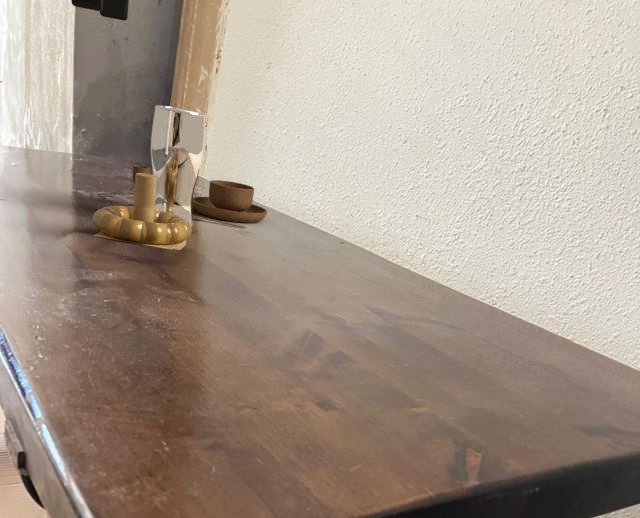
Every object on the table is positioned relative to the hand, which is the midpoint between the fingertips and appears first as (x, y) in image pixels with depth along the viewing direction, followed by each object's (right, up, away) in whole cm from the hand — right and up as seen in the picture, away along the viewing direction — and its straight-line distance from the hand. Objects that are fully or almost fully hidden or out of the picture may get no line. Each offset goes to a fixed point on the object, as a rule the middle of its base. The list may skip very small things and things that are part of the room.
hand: (101, 13), depth 84 cm
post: (+3, -25, +5) cm, 26 cm away
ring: (+4, -23, +5) cm, 23 cm away
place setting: (+6, -13, +34) cm, 37 cm away
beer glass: (+4, -18, +20) cm, 28 cm away
